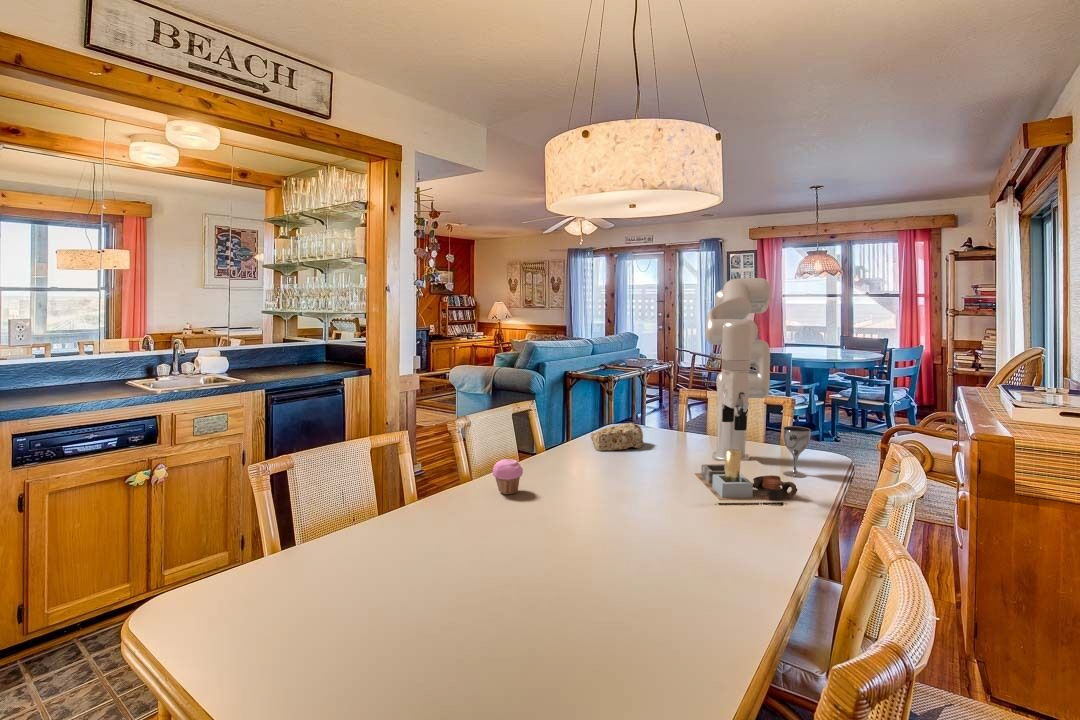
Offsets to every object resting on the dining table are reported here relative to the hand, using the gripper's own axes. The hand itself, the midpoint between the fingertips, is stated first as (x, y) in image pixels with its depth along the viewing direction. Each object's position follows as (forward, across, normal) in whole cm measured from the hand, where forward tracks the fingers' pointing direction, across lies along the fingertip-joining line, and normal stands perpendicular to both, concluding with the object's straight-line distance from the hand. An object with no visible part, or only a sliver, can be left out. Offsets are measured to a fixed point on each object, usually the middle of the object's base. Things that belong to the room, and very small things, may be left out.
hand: (733, 425), depth 157 cm
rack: (+19, +1, 0) cm, 19 cm away
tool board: (+21, -5, 0) cm, 21 cm away
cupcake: (+20, -5, -64) cm, 68 cm away
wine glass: (+22, -20, +28) cm, 40 cm away
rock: (+22, -58, -24) cm, 66 cm away
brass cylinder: (+19, +1, 0) cm, 19 cm away
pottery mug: (+21, +4, +10) cm, 24 cm away
